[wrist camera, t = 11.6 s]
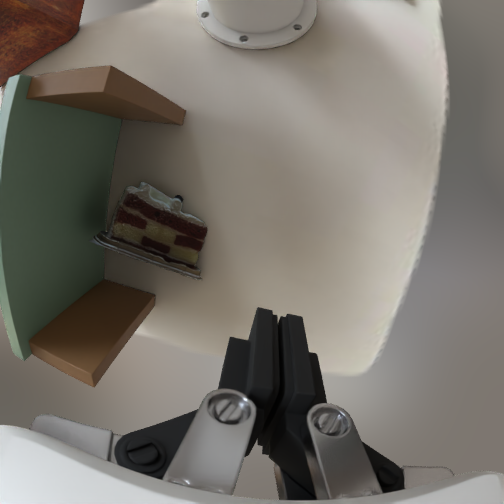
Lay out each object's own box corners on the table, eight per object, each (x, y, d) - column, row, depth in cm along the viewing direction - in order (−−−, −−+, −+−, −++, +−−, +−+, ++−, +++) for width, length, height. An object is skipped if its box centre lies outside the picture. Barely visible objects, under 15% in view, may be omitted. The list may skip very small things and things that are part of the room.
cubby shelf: (114, 105, 24) (8, 77, 9) (186, 110, 24) (99, 58, 9) (93, 286, 31) (13, 353, 16) (154, 306, 31) (87, 397, 16)
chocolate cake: (235, 219, 28) (133, 167, 18) (208, 284, 28) (98, 255, 19) (185, 203, 34) (102, 164, 25) (164, 255, 34) (77, 227, 25)
